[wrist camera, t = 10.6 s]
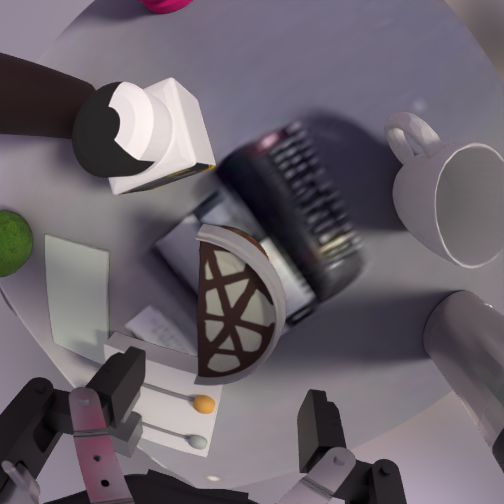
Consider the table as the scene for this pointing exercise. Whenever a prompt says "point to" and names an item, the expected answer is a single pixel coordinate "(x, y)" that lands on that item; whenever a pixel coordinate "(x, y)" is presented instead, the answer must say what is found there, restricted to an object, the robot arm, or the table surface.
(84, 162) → the medicine bottle
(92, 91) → the vinegar
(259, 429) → the table surface
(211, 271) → the food container
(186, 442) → the panel
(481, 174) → the mug
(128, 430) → the toggle
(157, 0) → the pepper mill
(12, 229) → the avocado
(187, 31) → the table surface
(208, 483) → the table surface
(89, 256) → the pad
